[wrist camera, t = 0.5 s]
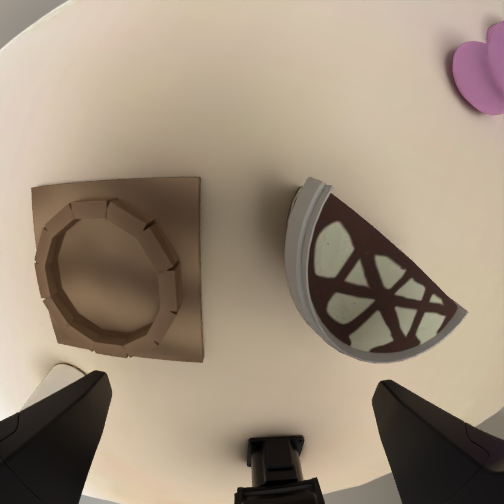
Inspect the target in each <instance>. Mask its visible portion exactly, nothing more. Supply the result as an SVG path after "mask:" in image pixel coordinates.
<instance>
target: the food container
mask: <svg viewBox="0 0 504 504" xmlns="http://www.w3.org/2000/svg"><path fill="white" fill-rule="evenodd" d="M333 188H334V187H333V186H330V185H326V184H325V183H324V182H322V181H320V180H317V179H314V178H311V177H308V179H307V180H306V182H305V184H304V186H302V187H299V189H298V191H297V193H296V194H295V196H294V198H293V200H292V202H291V206H290V210H289V214H288V218H287V233H286V242H285V255H284V258H285V269H286V278H287V282H288V286H289V290H290V294H291V296H292V298H293V301H294V303H295V305H296V307H297V310H298V311H299V313H300V314H301V316H302V317H303V318H304V320H305V321H306V323H307V324H308V325H309V326H310V327H311V328H312V329H313V330H314V331H315V332H316V333H317V334H318V335H319V336H320V337H321V338H322V339H323V340H324V341H325V342H326V343H327V344H328V345H330V346H331V347H333V348H334V349H336V350H337V351H339V352H341V353H343V354H346V355H348V356H350V357H353V358H355V359H358V360H360V361H365V362H370V363H393V362H400V361H404V360H407V359H410V358H413V357H416V356H418V355H420V354H422V353H424V352H426V351H428V350H429V349H431V348H433V347H434V346H436V345H437V344H439V343H440V342H441V341H442V340H444V339H445V338H446V337H447V336H448V335H450V334H451V333H452V332H453V331H454V330H455V328H456V327H457V326H458V325H459V324H460V323H461V322H462V321H463V319H464V318H465V317H466V315H467V314H468V313H469V312H468V311H467V310H465V309H464V308H463V307H461V306H460V305H459V304H457V303H456V302H455V301H453V300H452V299H451V298H449V297H448V296H447V295H446V294H445V293H444V292H443V291H442V290H441V289H440V288H439V287H438V286H437V285H436V284H435V283H434V282H433V281H432V280H431V279H430V278H429V277H428V276H427V275H426V274H425V273H424V272H423V271H422V270H421V269H420V268H419V267H418V266H417V265H416V264H415V263H414V262H413V261H412V260H411V259H410V258H409V257H407V256H406V255H405V254H404V253H403V252H402V251H401V250H399V249H398V248H397V247H396V246H395V245H394V244H392V243H391V242H390V241H389V240H388V239H387V238H386V237H385V236H383V235H382V234H381V233H380V232H379V231H378V230H376V229H375V228H374V227H373V226H372V225H371V224H369V223H368V222H367V221H366V220H364V219H363V218H362V217H361V216H360V215H358V214H357V213H356V212H355V211H353V210H352V209H351V208H350V207H348V206H347V205H346V204H345V203H343V202H342V201H341V200H339V199H338V198H337V197H335V196H334V195H333V194H331V191H332V189H333Z"/></svg>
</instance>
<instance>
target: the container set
mask: <svg viewBox="0 0 504 504" xmlns="http://www.w3.org/2000/svg"><path fill="white" fill-rule="evenodd" d="M452 72H453V78H454V81H455V84H456V86H457V88H458V90H459V91H460V93H461V94H462V96H463V97H464V98H465V99H466V100H467V101H468V102H469V103H470V104H471V105H472V106H474V107H475V108H476V109H478V110H479V111H481V112H483V113H486V114H489V115H499V114H502V113H504V21H503V22H500V23H497V24H495V25H492V26H491V27H490V28H489V29H488V32H487V44H485V43H483V42H476V41H471V42H466V43H464V44H462V45H461V46H459V47H458V49H457V50H456V52H455V54H454V58H453V67H452Z"/></svg>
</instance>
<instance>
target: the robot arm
mask: <svg viewBox="0 0 504 504" xmlns="http://www.w3.org/2000/svg"><path fill="white" fill-rule="evenodd" d="M111 398H112V389H111V385H110V382H109V378H108V375H107V374H106V373H105V372H102V371H97V370H95V371H93V372H91V373H89V374H87V375H85V376H84V377H82V378H80V379H78V380H77V381H75V382H73V383H71V384H69V385H68V386H66V387H64V388H62V389H60V390H58V391H57V392H55V393H53V394H51V395H49V396H48V397H46V398H44V399H42V400H40V401H38V402H36V403H35V404H33V405H31V406H29V407H27V408H25V409H23V410H21V411H20V413H19V412H18V413H16V414H14V415H12V416H10V417H8V418H6V419H4V420H2V421H0V504H79V500H80V497H81V494H82V491H83V488H84V484H85V481H86V478H87V475H88V472H89V469H90V466H91V464H92V461H93V458H94V455H95V452H96V449H97V447H98V444H99V441H100V439H101V436H102V433H103V429H104V426H105V421H106V417H107V413H108V410H109V406H110V402H111ZM372 406H373V410H374V414H375V418H376V422H377V426H378V431H379V435H380V438H381V442H382V444H383V447H384V450H385V453H386V456H387V459H388V461H389V464H390V467H391V470H392V473H393V476H394V479H395V482H396V485H397V488H398V491H399V495H400V498H401V501H402V504H504V440H503V439H500V438H498V437H495V436H493V435H490V434H488V433H486V432H483V431H481V430H479V429H477V428H475V427H473V426H472V425H470V424H468V423H466V422H465V423H464V421H462V420H460V419H459V418H457V417H455V416H453V415H451V414H450V413H448V412H446V411H444V410H442V409H441V408H439V407H437V406H435V405H434V404H432V403H430V402H428V401H427V400H425V399H423V398H421V397H420V396H418V395H416V394H414V393H413V392H411V391H409V390H408V389H406V388H404V387H403V386H401V385H399V384H397V383H396V382H394V381H392V380H383V381H380V382H379V383H378V385H377V388H376V390H375V393H374V395H373V398H372ZM303 444H304V437H302V436H299V437H284V438H256V439H249V440H248V451H247V466H248V467H251V469H252V487H247V488H243V487H238V488H237V493H235V494H234V496H235V501H234V504H325V502H324V499H323V496H322V492H321V489H320V485H319V482H318V479H317V477H316V478H312V479H309V480H303V475H302V470H301V464H300V459H299V457H300V453H301V450H302V447H303Z"/></svg>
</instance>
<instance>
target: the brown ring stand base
mask: <svg viewBox="0 0 504 504" xmlns="http://www.w3.org/2000/svg"><path fill="white" fill-rule="evenodd" d="M31 190H32V210H33V223H34V233H35V241H36V249H37V251H36V256H35V261H36V263H35V270H36V275H37V280H38V285H39V290H40V294H41V298H46V299H45V300H44V301H43V302H44V304H45V306H46V307H47V309H48V310H49V314H50V318H51V321H52V325H53V328H54V332H55V335H56V338H57V342H58V343H60V344H64V345H69V346H74V347H79V348H84V349H89V350H90V351H92V352H93V351H94V350H95V352H96V353H98V354H103V355H110V356H116V357H123V358H127V357H128V356H129V357H130V358H131V357H133V356H135V357H143V358H152V359H162V360H173V361H185V362H200V363H203V358H204V350H203V332H202V310H201V280H200V177H171V178H138V179H118V180H102V181H89V182H77V183H67V184H57V185H48V186H40V187H33V188H31Z"/></svg>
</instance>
